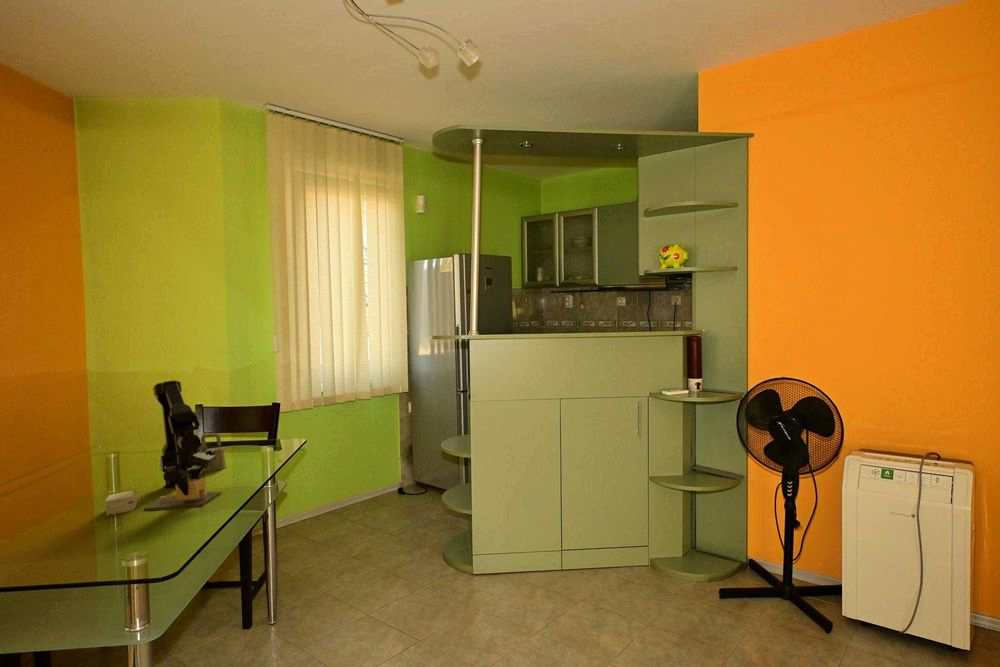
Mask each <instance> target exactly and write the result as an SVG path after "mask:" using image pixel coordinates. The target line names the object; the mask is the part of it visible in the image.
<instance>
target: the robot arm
mask: <svg viewBox="0 0 1000 667" xmlns="http://www.w3.org/2000/svg"><path fill="white" fill-rule="evenodd" d="M152 390H153V396H154V397H155V399H156V400H157V402H158V403H159V404H160V405H161V408H162V409H161V410H162V417H163V418H162V420H163V427H164V437H165V438H164V439H165V444H164V445H163V448H162V449H161V455H160V457H159V458H160V461H159V463H160V464H159V467H160V471H161V472H162V473H163V474H162V476H163V481H164V482H165V484H164V485H163V488H176V486H175V485H177V486H178V487H179V489H180V490H181V491H182V493H183V494H184V495H188V480H190V479H201V476H202V473H203V472H204V471H203V470H204V469H205V468H208V467H209V466H212V465H213V460H215V459H216V457H215V452H214V451H213V450H209V451H207V452H206V453H205V452H204V453H201V452H200V451H201V450H200V448H199V447H201V437H199V436H198V435H197V434H195V431H196V430H199V429H200V428H199V427H200V421H199V418H198V415H197V414H196V412H195V411H193V408H191V405H187V404H185V401H184V398H183V395H182V391H183V389H182V384H181V381H178V380H167V381H163V382H158V383H156V384H155V385H153V388H152Z"/></svg>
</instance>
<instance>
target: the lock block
mask: <svg viewBox="0 0 1000 667" xmlns="http://www.w3.org/2000/svg"><path fill="white" fill-rule="evenodd" d="M175 486H176V487H175V492H176V493H175V495H177V500H184V499H197V498H199V497H200V496H199V493H207V491H206V490H207V489H206V482H205V478H200V479H188V495H184V494H183V493H182V491H181V490H180V489H179V487H178V486H177V485H175Z"/></svg>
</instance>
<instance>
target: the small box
mask: <svg viewBox="0 0 1000 667" xmlns="http://www.w3.org/2000/svg"><path fill="white" fill-rule="evenodd" d="M136 504H137V505H138V501H137V491H136V490H134V489H133V490H129V491H124V492H119V493H113V494H109V495H108V496H107V498H106V499H105V511H106V516H109V515H108V514H112V515H116V513H117V514H121V513H126V512H131V511H134V510H135V509H136V507H137V505H136Z"/></svg>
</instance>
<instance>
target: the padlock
mask: <svg viewBox="0 0 1000 667" xmlns="http://www.w3.org/2000/svg"><path fill="white" fill-rule="evenodd" d="M214 437H215V438H216V445H217V446H218V447H217V448H214V447H213V448H209V449H208V448H207V450H206V445H207V444H206V438H214ZM200 445H202V451H201V450H200V451H201V453H204V452H205V453H206V452H207V451H209V450H213V451H214V452H215V457H216V459H215V460H213V465H212V466H209V467H208V468H205V469H204V470H203V471H202V472H211V471H213V470H214V471H220V470H224V469H226V468H225V467H226V466H227V465H226V458H225V448H224V447H221V445H222V440H221V435H220V433H217V432H214V433H205V434H202V435H201V437H200ZM223 468H224V469H223ZM219 469H220V470H219Z"/></svg>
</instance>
